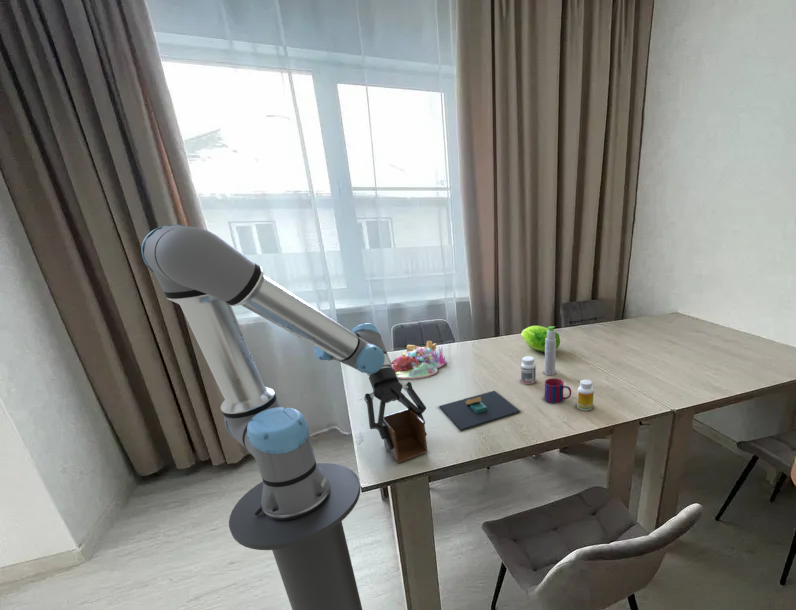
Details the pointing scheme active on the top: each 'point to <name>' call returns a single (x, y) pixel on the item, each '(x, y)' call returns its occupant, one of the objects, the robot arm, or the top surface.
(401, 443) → the open wooden box
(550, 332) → the bottle
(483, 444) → the top surface
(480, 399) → the block
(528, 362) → the pill bottle
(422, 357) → the candy landscape model
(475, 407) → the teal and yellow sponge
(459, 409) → the mat
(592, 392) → the supplement bottle
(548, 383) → the mug
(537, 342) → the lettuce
